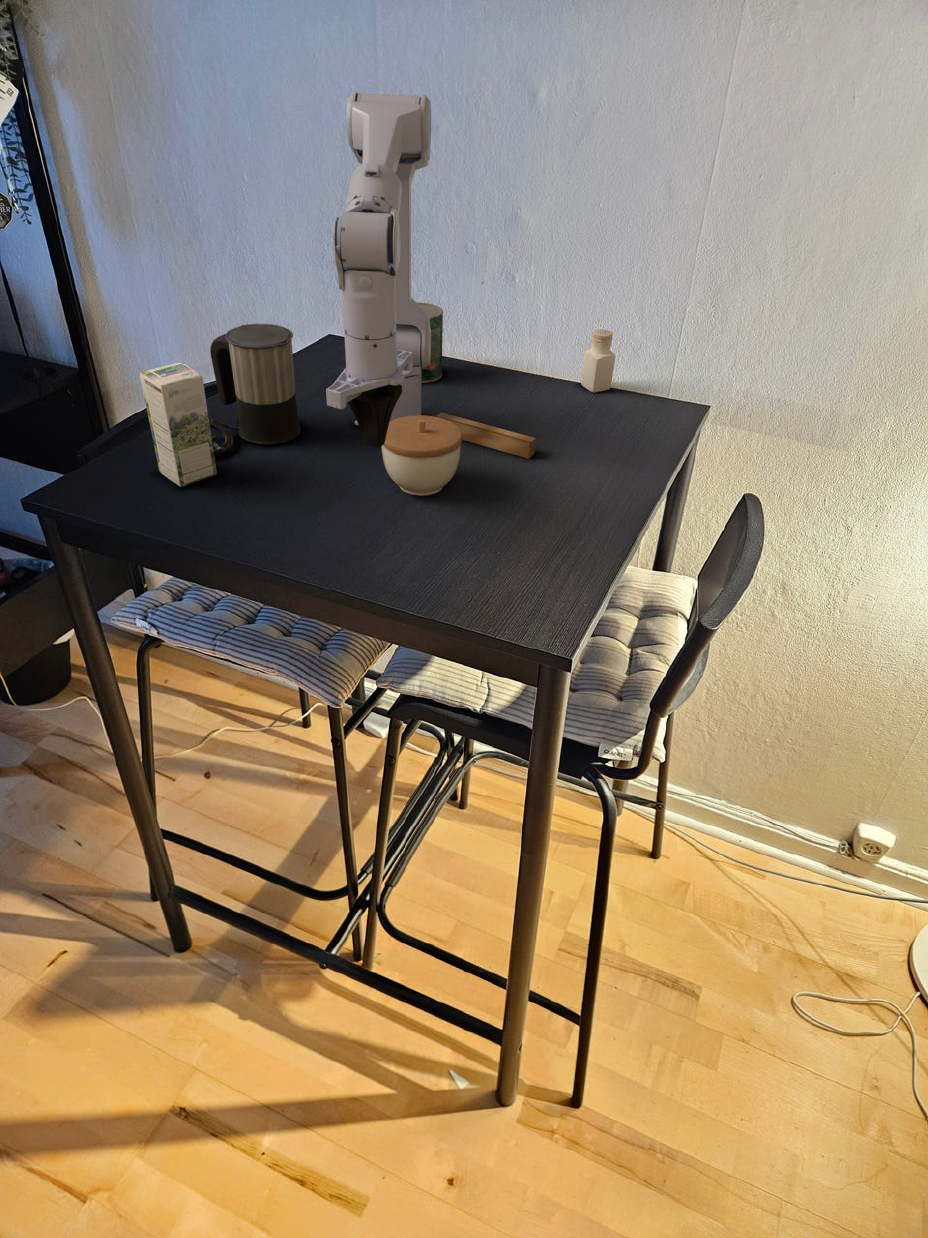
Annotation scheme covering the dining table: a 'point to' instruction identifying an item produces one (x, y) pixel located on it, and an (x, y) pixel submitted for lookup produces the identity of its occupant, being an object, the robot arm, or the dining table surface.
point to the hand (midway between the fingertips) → (374, 444)
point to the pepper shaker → (598, 362)
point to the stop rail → (493, 436)
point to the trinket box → (421, 453)
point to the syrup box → (179, 423)
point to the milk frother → (256, 384)
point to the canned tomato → (434, 344)
